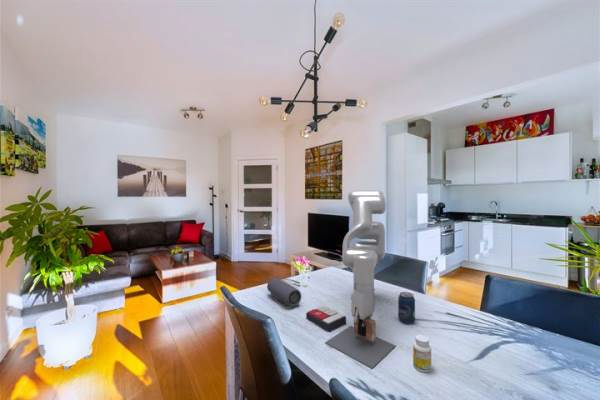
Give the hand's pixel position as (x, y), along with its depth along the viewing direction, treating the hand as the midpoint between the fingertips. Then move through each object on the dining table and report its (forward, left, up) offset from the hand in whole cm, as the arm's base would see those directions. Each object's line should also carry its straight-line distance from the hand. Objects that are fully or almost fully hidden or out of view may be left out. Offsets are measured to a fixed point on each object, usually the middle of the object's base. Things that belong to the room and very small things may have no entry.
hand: (364, 333), depth 95 cm
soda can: (-27, +5, -4) cm, 28 cm away
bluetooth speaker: (-2, -51, -4) cm, 51 cm away
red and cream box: (-2, -21, -4) cm, 21 cm away
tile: (0, 0, -1) cm, 1 cm away
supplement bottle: (-1, +21, -4) cm, 21 cm away
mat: (+3, 0, -3) cm, 4 cm away
